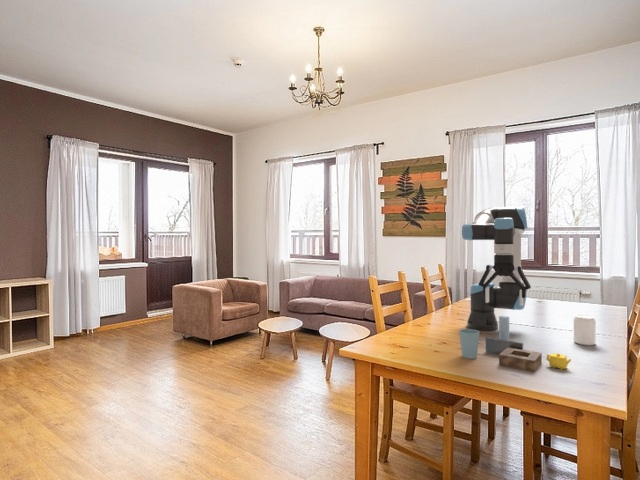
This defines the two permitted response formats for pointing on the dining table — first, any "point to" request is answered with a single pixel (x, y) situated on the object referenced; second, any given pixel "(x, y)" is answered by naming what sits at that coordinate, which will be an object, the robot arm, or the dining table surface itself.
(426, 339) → the dining table surface
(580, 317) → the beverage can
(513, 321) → the dining table surface
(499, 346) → the rail
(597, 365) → the dining table surface
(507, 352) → the socket block
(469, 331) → the cup
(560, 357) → the teapot
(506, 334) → the peg
